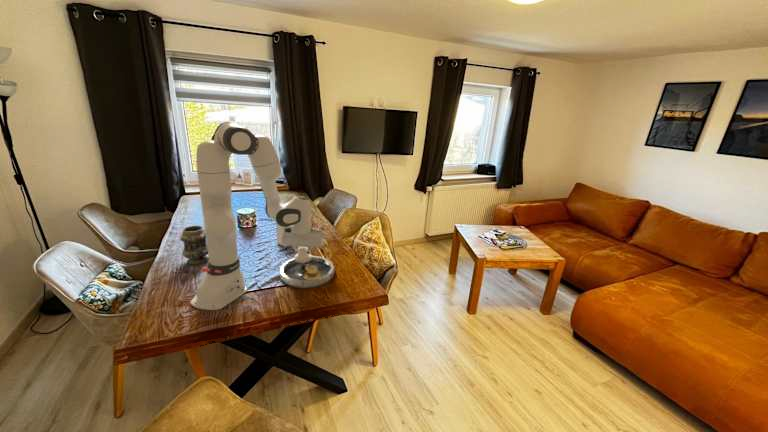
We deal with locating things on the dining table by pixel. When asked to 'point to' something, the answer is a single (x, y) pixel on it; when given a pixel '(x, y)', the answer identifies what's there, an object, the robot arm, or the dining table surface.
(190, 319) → the dining table surface
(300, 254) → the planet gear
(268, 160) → the robot arm
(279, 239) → the milk carton
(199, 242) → the apothecary jar
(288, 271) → the grey round tray
